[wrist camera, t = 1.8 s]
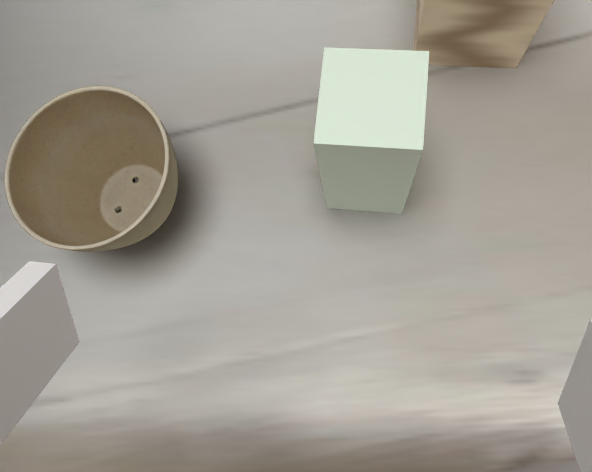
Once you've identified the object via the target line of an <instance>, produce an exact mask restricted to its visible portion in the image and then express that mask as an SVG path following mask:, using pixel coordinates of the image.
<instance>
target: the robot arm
mask: <svg viewBox="0 0 592 472" xmlns="http://www.w3.org/2000/svg"><path fill="white" fill-rule="evenodd" d="M78 343H79V339H78V336H77V332H76V329H75V326H74V323H73V319H72V316H71V313H70V309H69V306H68V303H67V299H66V296H65V293H64V289H63V286H62V283H61V279H60V276H59V273H58V270H57V266H56V264H52V263H42V262H33V261H29V262H28V263H27V264H26V265H25V266H24V267H22V268H21V269H20V270H19V271H18V272H17V273H16V274H15V275H14V276H13V277H11V278H10V279H9V280H8V281H7V282H6V283H5V284H4V285H3V286H2V287H1V288H0V445H1V444H2V442H3V441H4V440H5V438H6V437H7V436H8V435H9V433H10V432H11V431H12V429H13V428H14V427H15V425H16V424H17V423H18V422H19V420H20V419H21V418H22V416H23V415H24V414H25V412H26V411H27V410H28V408H29V407H30V406H31V405H32V403H33V402H34V401H35V399H36V398H37V397H38V395H39V394H40V393H41V391H42V390H43V389H44V388H45V386H46V385H47V384H48V382H49V381H50V380H51V378H52V377H53V376H54V374H55V373H56V372H57V371H58V369H59V368H60V367H61V365H62V364H63V363H64V361H65V360H66V359H67V357H68V356H69V355H70V354H71V352H72V351H73V350H74V348H75V347H76V346H77V344H78ZM558 405H559V408H560V411H561V414H562V417H563V420H564V424H565V427H566V430H567V433H568V436H569V439H570V442H571V445H572V448H573V451H574V454H575V457H576V460H577V463H578V466H579V470H580V472H592V320H590V322H589V324H588V327H587V329H586V332H585V334H584V337H583V340H582V342H581V345H580V347H579V350H578V352H577V355H576V358H575V360H574V363H573V365H572V368H571V371H570V373H569V376H568V378H567V381H566V383H565V386H564V389H563V391H562V394H561V396H560V399H559V402H558Z"/></svg>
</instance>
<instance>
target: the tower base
mask: <svg viewBox="0 0 592 472" xmlns="http://www.w3.org/2000/svg"><path fill="white" fill-rule="evenodd" d="M553 2H554V0H417V11H416V25H415V39H414V51H429V64H428V65H444V66H471V67H498V68H517V66H518V64H519V62H520V61H521V59H522V57H523V55H524V54H525V52H526V50H527V48H528V46H529V45H530V43H531V41H532V39H533V37H534V36H535V34H536V32H537V30H538V28H539V27H540V25H541V23H542V21H543V19H544V18H545V16H546V14H547V12H548V11H549V9H550V7H551V5H552V3H553Z"/></svg>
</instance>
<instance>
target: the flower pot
mask: <svg viewBox="0 0 592 472" xmlns="http://www.w3.org/2000/svg"><path fill="white" fill-rule="evenodd" d="M133 179H135V183H134V182H133ZM4 180H5V192H6V197H7V200H8V204H9V207H10V209H11V211H12V213H13V215H14V217H15V219H16V220H17V222H18V223H19V224H20V225H21V226H22V227H23V229H24V230H25V231H26V232H28V233H29V234H30V235H31V236H33V237H34V238H35V239H37V240H39V241H41V242H42V243H45V244H47V245H50V246H52V247H56V248H61V249H66V250H73V251H107V250H113V249H118V248H122V247H126V246H129V245H132V244H134V243H137V242H139V241H141V240H143V239H145V238H146V237H148V236H149V235H151V234H152V233H153V232H155V231H156V230H157V229H158V228H159V227H160V226H161V225H162V224H163V223H164V221H165V220H166V219H167V217H168V216H169V214H170V212H171V210H172V208H173V205H174V202H175V199H176V194H177V188H178V169H177V162H176V157H175V153H174V150H173V147H172V144H171V141H170V138H169V136H168V134H167V132H166V130H165V128H164V126H163V124H162V122H161V121H160V119H159V118H158V116H157V115H156V113H155V112H154V111H153V110H152V108H151V107H150V106H149V105H148V104H147V103H145V102H144V101H143V100H142V99H140V98H139V97H137V96H136V95H134V94H132V93H130V92H128V91H125V90H122V89H118V88H115V87H108V86H90V87H83V88H79V89H75V90H71V91H69V92H66V93H64V94H62V95H60V96H58V97H56V98H54V99H52V100H51V101H49V102H48V103H46V104H45V105H43V106H42V107H41V108H39V109H38V110H37V111H36V112H35V113H34V114H33V115H32V116H31V117H30V118H29V119H28V120H27V121H26V123H25V124H24V125H23V127H22V128H21V129H20V131H19V133H18V134H17V136H16V138H15V140H14V142H13V144H12V146H11V149H10V151H9V154H8V157H7V161H6V167H5V176H4ZM120 210H121V211H120ZM119 211H120V212H119ZM118 212H119V213H118Z"/></svg>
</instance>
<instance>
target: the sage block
mask: <svg viewBox="0 0 592 472" xmlns="http://www.w3.org/2000/svg"><path fill="white" fill-rule="evenodd" d="M428 64H429V51H410V50H381V49H351V48H324V55H323V64H322V73H321V82H320V90H319V99H318V108H317V117H316V126H315V135H314V148H315V153H316V158H317V163H318V168H319V172H320V177H321V182H322V187H323V192H324V197H325V202H326V207H327V208H330V209H343V210H356V211H369V212H382V213H395V214H402V213H403V210H404V207H405V204H406V201H407V197H408V194H409V191H410V188H411V185H412V182H413V179H414V176H415V173H416V170H417V167H418V164H419V161H420V158H421V155H422V151H423V142H424V126H425V111H426V95H427V79H428Z"/></svg>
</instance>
